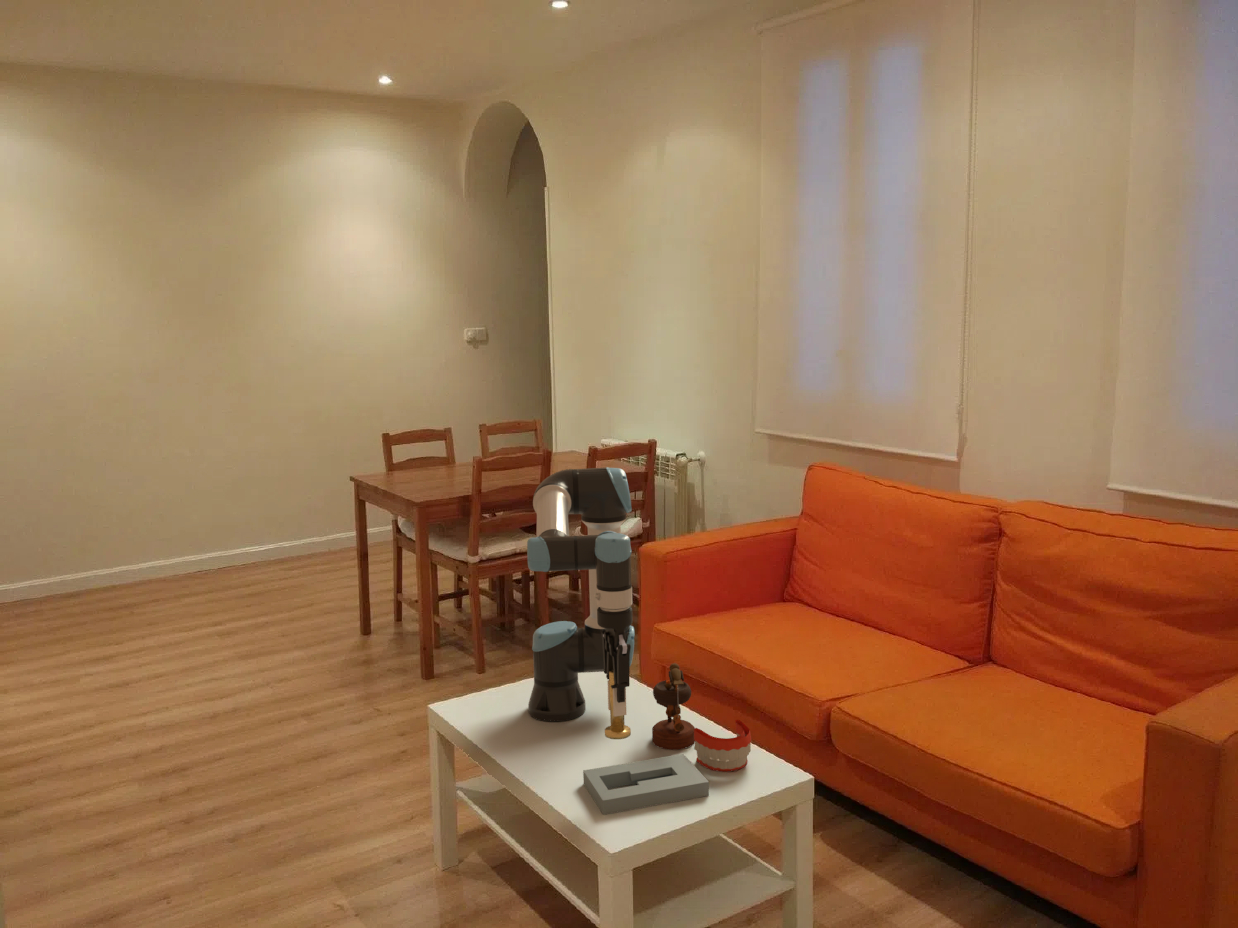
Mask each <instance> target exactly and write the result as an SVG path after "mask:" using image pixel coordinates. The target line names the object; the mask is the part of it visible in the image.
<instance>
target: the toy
mask: <svg viewBox="0 0 1238 928" xmlns="http://www.w3.org/2000/svg"><path fill="white" fill-rule="evenodd" d="M735 726H736V727H735V728H736V729H735V733H736V736H735V737H729V738H728V737H727V738H722V737H718V736H717V737H716V736H713V735H710V734H708V733H707V732H705V731H704V730H702V729H701V728H697V727H695V728H694V741H695V743H694V746H693V747H694V750H695V751H696V762H697V763H698V764H699V765H701V766H703V767H704V768H706V769H708V770H710V771H714V772H716V771H717V772H722V773H723V772H724V773H725V772H726V773H727V772H734V771H738V770H741V769H742V768H744V767H745V766H746V765H747V764H748V756H749V754H750V753H751V745H752V744H751V743H752V736H751V735H752V734H751V730H750V728H749V727H748V726H747V725H746V724H745V723H744V722H743V721H741V720H740V719H735Z"/></svg>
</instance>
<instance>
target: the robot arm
mask: <svg viewBox="0 0 1238 928" xmlns="http://www.w3.org/2000/svg"><path fill="white" fill-rule="evenodd" d="M629 488H630V487H629V483H628V478H627V474H626V472H625V470H624V469H622V468H619V467H608V466H605V467H589V468H576V469H572V468H569V469H568V468H567V469H561V470H559V471H556V472H554V473H552V474H550V475H549V476H547V477H545V479H543V480H542V481H541V482H540V483H539V485H538V486H537V487H536V489H535V491H534V493H533V498H532V506H533V510H534V512H535V513H536V536H535V537H529V538H528V539H527V542H526V543H527V544H526V548H527V549H526V553H527V567H528V569H529V570H530V571H532V572H542V573H543V572H544V573H548V572H557V571H559V572H561V571H581V570H583V571H585V570H588V585H589V586H588V587H589V589H588V590H589V591H588V592H589V616H588V617H587V618H586V619H585V620H584V627H578V626H577V624H576V623H575V622H573V621H567V620H563V621H562V620H559V621H554V622H549V623H547V624H543V625H542V626H540V627H538V628H537V629H535V631H534V632H533V635H532V647H531V650H532V656H533V658H532V659H533V687H532V690H531V694H530V697H529V700H528V714H529V716H530V717H531V718H533V719H536V720H539V721H543V722H564V721H565V722H566V721H569V720H573V719H577V718H578V717H580V716H582V715H583V714H584V713H586V699H585V697H584V693H583V691H582V689H581V686H580V683H579V674H581V673H584V674H585V673H601V672H602V673H604V674H606V675H605V678H606V680H607V709H608V711H610V685H609V672H610V671H611V670H613V674H614V685H611V688H612V689H613V715H614V717H616V716H622V715H624V716H627V688H628V687H630V668H631V665H632V663H633V657H634V650H635V633H636V632H635V627H634V626H633V621H634V620H633V608H632V605H633V586H632V547H631V538H630V536H628V535H627V534H624V533H622V532H621V531H622V530H621V526H622V525H623V523H624V522H626V521H627V514H629V513H631V512H632V510H633V509H632V500H631V499H632V498H631V493H630V489H629ZM569 515H581V516H580V517H581V520H580V521H581V522H582V523H583V524H584V525H585V526H586V528H587V535H586V534H585V535H570V529H569V528H570V526H569Z"/></svg>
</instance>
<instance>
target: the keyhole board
mask: <svg viewBox="0 0 1238 928" xmlns="http://www.w3.org/2000/svg"><path fill="white" fill-rule="evenodd" d="M582 775H583V776H582V777H583V785H584V787H585V789H586V790H587V791H588V793H589V795H590V796H591V797H592V799H593V801H594V802H595V804H596V806H597V807H598V809H599V811H600V812H601V813H602V815H610V814H615V813H621V812H626V811H631V810H637V809H643V808H649V807H652V806H653V807H654V806H660V805H664V804H670V803H675V802H682V801H687V800H693V799H697V798H703V797H708V796H709V795H710V791H709V790H710V783H709V780H708V779H707V778H706V777H705V776H704V775H703V774H702V773H701V771H700V770H699V769H698V768H697V767H696V765H694V764H693V762H692V761H690V759H688V757H687V756H686V755H685V754H684V753H681V754H680V753H679V754H674V755H669V756H661V757H655V758H650V759H645V760H638V761H632V762H625V763H619V764H613V765H608V766H602V767H595V768H590V769H584V770H583V771H582ZM636 784H637V785H636ZM629 785H630V786H629ZM617 787H618V788H617ZM611 788H612V789H611ZM613 788H614V789H613ZM709 797H710V796H709Z"/></svg>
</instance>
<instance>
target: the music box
mask: <svg viewBox="0 0 1238 928" xmlns="http://www.w3.org/2000/svg"><path fill="white" fill-rule="evenodd" d="M668 678H669V679H666V680H661V681H659V682H657V683H656V684H655V686H654V687H653V690H652V695H653V697H654V699H655V701H656V704H658V705H660V706H662V707H664V708H666V709H665V714H666V716H667V719H663V720H660V721H658V722H656V723H655V724H654V725H653V726H652V729H651V732H652V733H651V734H652V743H653V745H654V746H655V747H657V748H659V749H660V748H661V749H663V750H670V751H671V750H672V751H676V750H684V749H687V748H690V747H692V746H693V745H695V741H694V728H696V727H695V726H694V725H693V724H692V723H691V722H689V721H687V720H684V719H682V716H681V711H682V709H681V707H680V705H682V704H685V703H687V702H688V701H689V700H690V699H691V696H692V689H691V687H690V685H689V684H688V683H687V682H686V681H685V677H684V674H683V670H680V665H679V664H678V663H677V662H673V663H671V664H670V666H669V670H668Z"/></svg>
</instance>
